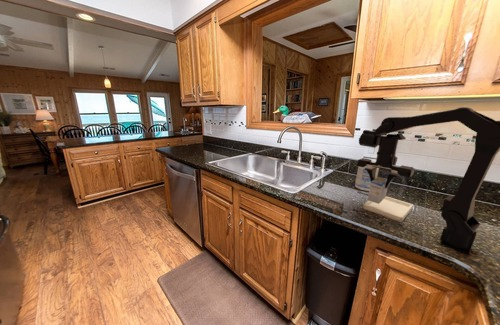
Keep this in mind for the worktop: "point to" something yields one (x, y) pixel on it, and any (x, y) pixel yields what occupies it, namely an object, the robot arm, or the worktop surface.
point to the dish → (390, 208)
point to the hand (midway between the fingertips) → (379, 186)
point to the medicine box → (377, 190)
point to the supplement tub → (364, 179)
